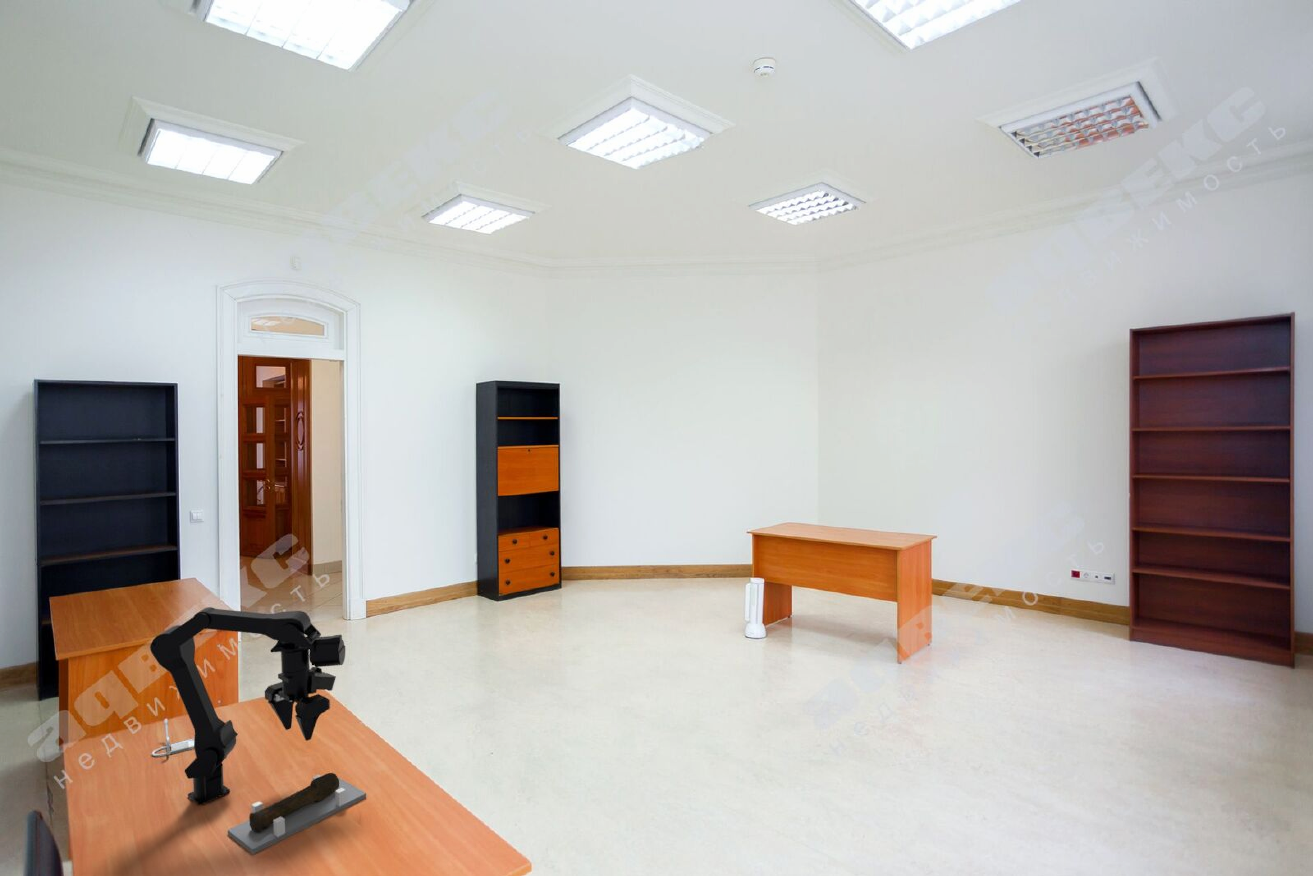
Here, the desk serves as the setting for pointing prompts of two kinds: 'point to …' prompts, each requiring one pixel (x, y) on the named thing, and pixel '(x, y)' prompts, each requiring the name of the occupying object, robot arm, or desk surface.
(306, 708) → the robot arm
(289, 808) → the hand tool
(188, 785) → the desk surface
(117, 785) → the desk surface
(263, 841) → the plate
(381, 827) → the desk surface
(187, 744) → the wall mount rack
